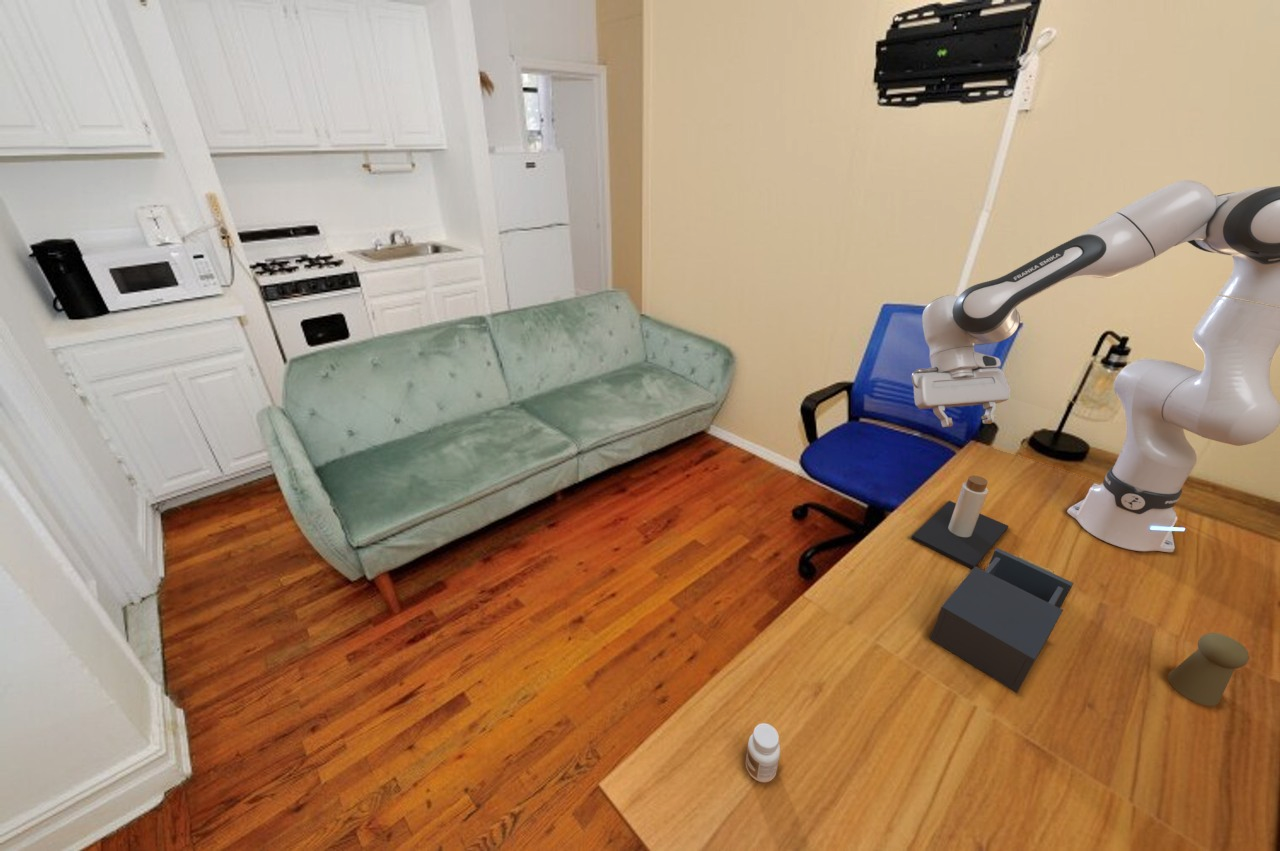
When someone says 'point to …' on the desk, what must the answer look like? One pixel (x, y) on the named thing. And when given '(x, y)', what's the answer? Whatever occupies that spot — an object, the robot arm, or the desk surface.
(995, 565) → the drawer
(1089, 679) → the desk surface
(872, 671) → the desk surface
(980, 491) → the pepper mill
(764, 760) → the pill bottle
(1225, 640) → the cork
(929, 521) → the mat
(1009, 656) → the cabinet
